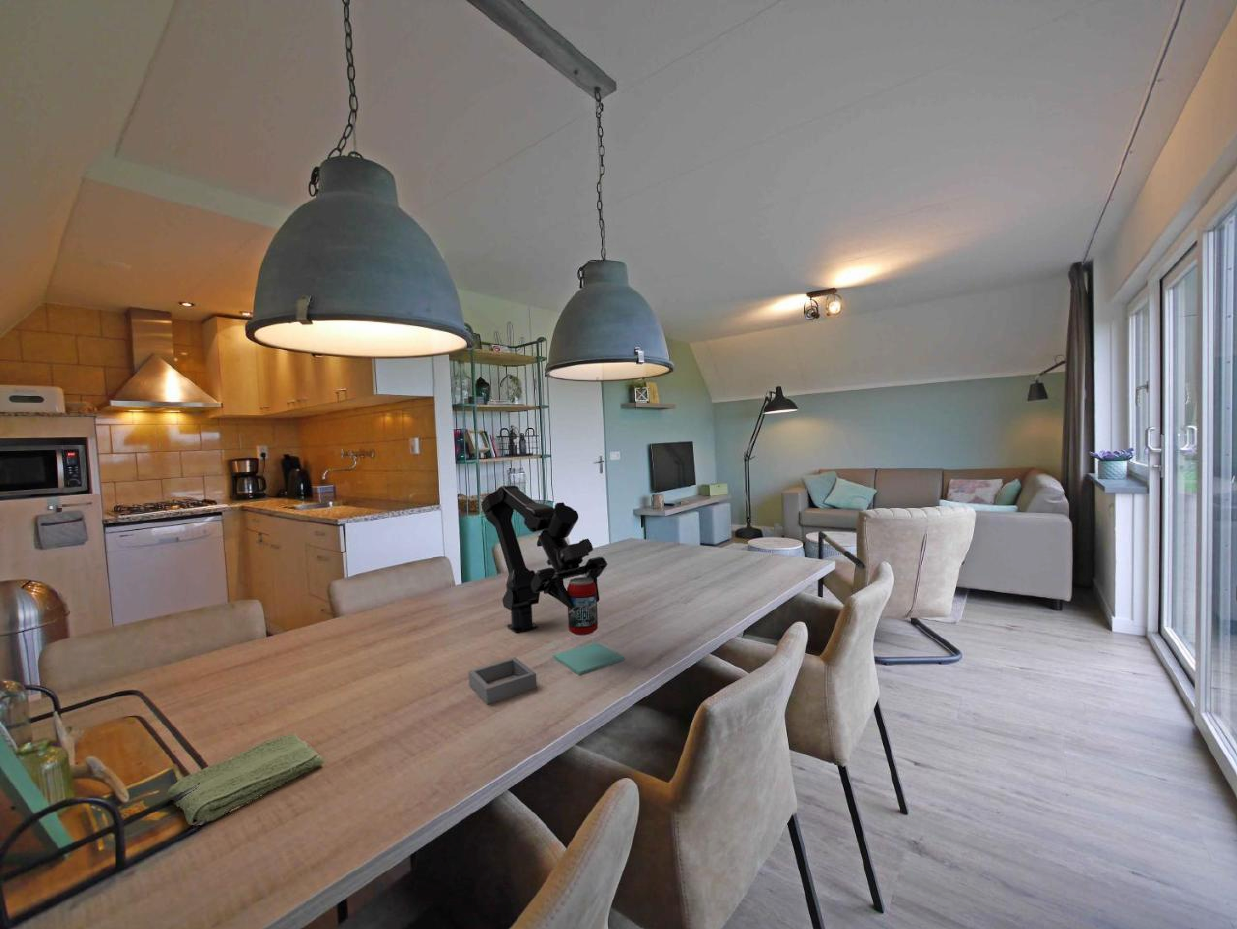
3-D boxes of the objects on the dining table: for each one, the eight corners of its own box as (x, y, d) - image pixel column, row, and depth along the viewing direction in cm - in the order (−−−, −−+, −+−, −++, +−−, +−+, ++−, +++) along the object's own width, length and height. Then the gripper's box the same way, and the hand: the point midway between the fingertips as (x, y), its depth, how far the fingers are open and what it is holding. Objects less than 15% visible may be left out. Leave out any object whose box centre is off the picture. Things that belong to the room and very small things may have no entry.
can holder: (469, 685, 110) (468, 671, 110) (515, 670, 116) (515, 657, 116) (487, 704, 101) (486, 689, 101) (536, 687, 107) (535, 673, 107)
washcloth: (328, 767, 84) (327, 747, 84) (192, 837, 70) (190, 813, 70) (293, 743, 92) (291, 725, 92) (164, 801, 78) (162, 780, 78)
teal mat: (553, 657, 122) (553, 655, 122) (596, 644, 129) (596, 641, 129) (579, 674, 112) (578, 672, 112) (624, 659, 119) (624, 656, 119)
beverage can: (569, 638, 116) (567, 585, 115) (568, 627, 123) (566, 577, 122) (599, 635, 117) (597, 583, 116) (596, 625, 124) (594, 575, 123)
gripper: (534, 535, 116) (563, 594, 108) (601, 523, 128) (632, 576, 120) (519, 564, 122) (545, 622, 114) (584, 550, 134) (612, 602, 126)
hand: (585, 604), depth 118 cm, fingers closed on beverage can, 7 cm apart
